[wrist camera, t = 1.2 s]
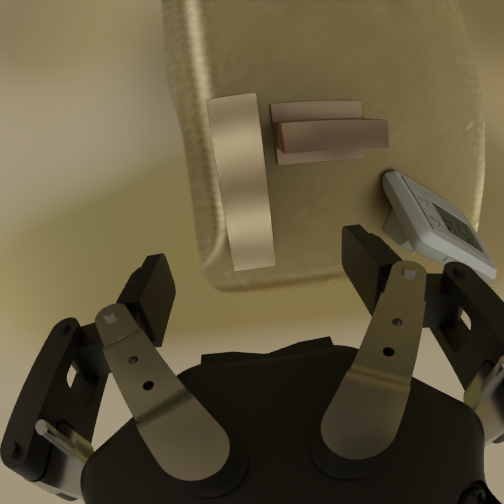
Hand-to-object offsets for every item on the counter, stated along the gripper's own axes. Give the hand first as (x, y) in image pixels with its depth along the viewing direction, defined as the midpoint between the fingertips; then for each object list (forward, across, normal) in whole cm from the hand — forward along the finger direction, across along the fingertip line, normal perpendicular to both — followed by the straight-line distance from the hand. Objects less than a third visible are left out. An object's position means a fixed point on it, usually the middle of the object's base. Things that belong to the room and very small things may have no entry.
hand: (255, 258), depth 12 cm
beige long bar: (+16, 0, 0) cm, 16 cm away
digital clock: (+16, -21, +6) cm, 27 cm away
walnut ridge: (+16, -8, -4) cm, 18 cm away
